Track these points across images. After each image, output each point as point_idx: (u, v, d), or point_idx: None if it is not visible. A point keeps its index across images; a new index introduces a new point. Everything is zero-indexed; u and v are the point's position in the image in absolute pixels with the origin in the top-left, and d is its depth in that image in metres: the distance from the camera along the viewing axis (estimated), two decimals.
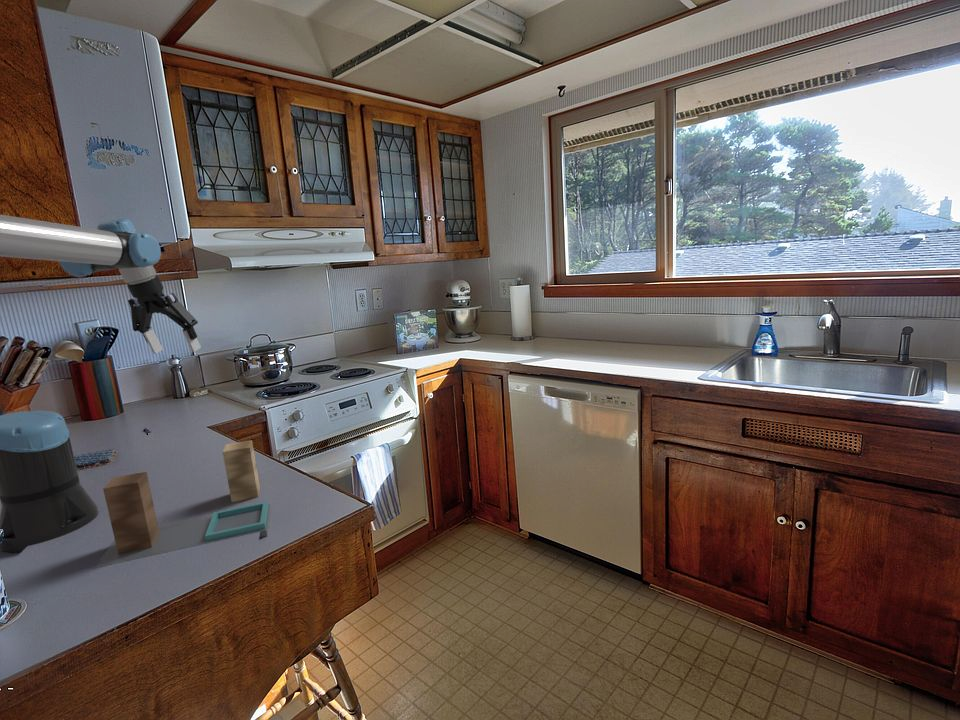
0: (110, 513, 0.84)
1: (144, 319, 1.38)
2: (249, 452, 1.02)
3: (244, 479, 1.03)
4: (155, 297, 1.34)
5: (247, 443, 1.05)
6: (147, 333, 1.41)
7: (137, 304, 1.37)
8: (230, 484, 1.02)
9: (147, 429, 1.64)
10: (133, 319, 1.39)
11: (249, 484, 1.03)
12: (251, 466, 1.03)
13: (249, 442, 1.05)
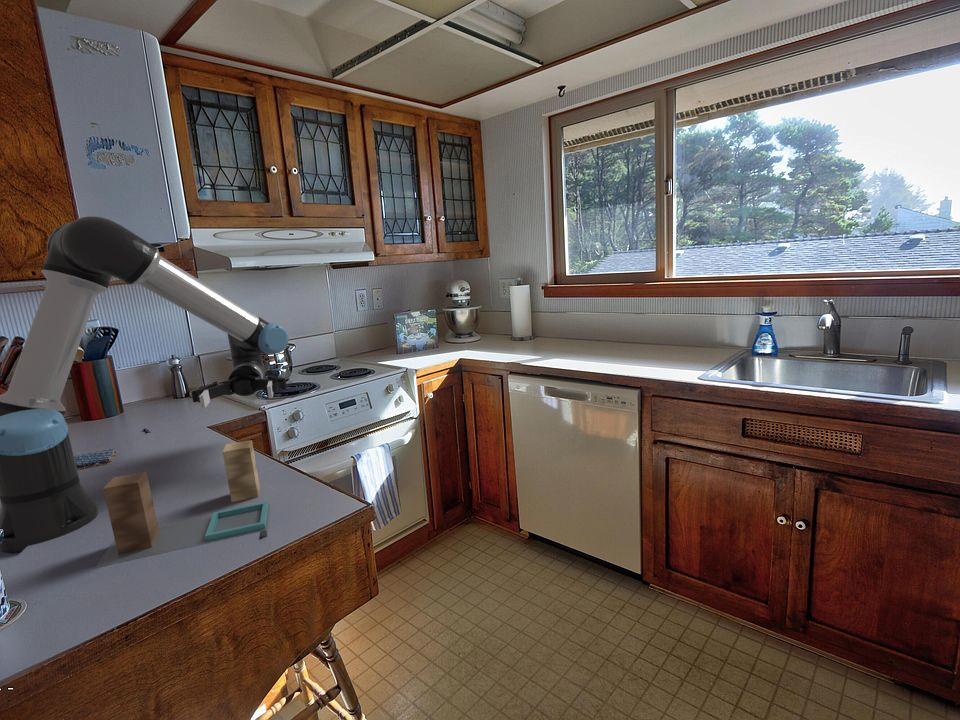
0: (110, 513, 0.84)
1: (220, 385, 1.20)
2: (249, 452, 1.02)
3: (244, 479, 1.03)
4: None
5: (247, 443, 1.05)
6: (208, 392, 1.15)
7: None
8: (230, 484, 1.02)
9: (147, 429, 1.64)
10: (203, 387, 1.19)
11: (249, 484, 1.03)
12: (251, 466, 1.03)
13: (249, 442, 1.05)
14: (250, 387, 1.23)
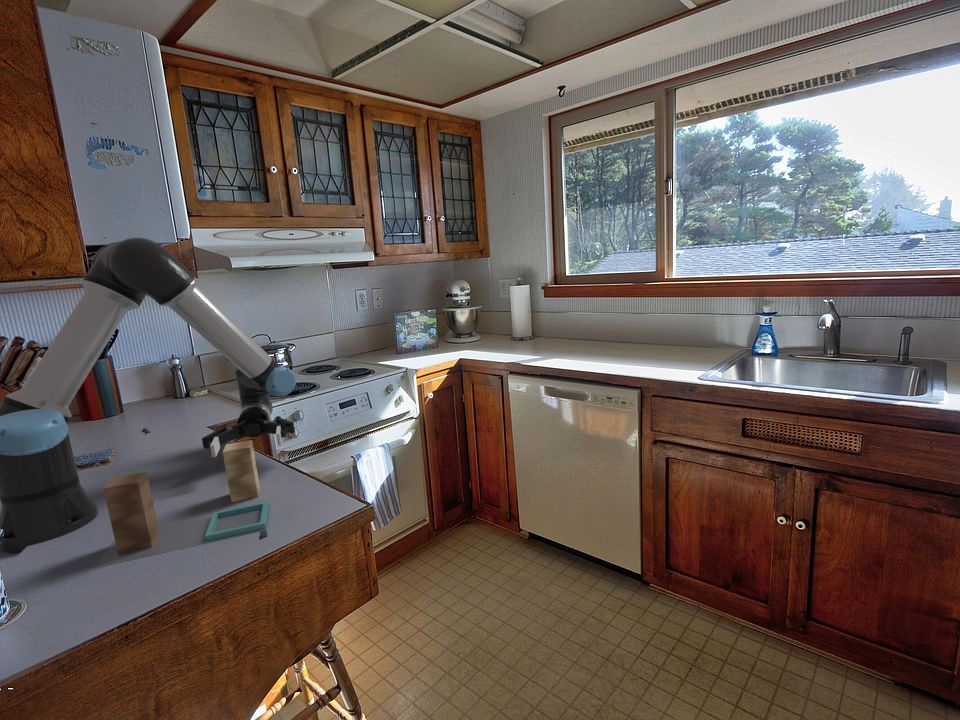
0: (110, 513, 0.84)
1: (229, 430, 1.22)
2: (249, 452, 1.02)
3: (244, 479, 1.03)
4: (263, 419, 1.30)
5: (247, 443, 1.05)
6: (218, 439, 1.17)
7: (229, 429, 1.26)
8: (230, 484, 1.02)
9: (146, 429, 1.64)
10: (213, 433, 1.21)
11: (249, 484, 1.03)
12: (251, 466, 1.03)
13: (249, 442, 1.05)
14: (259, 430, 1.26)
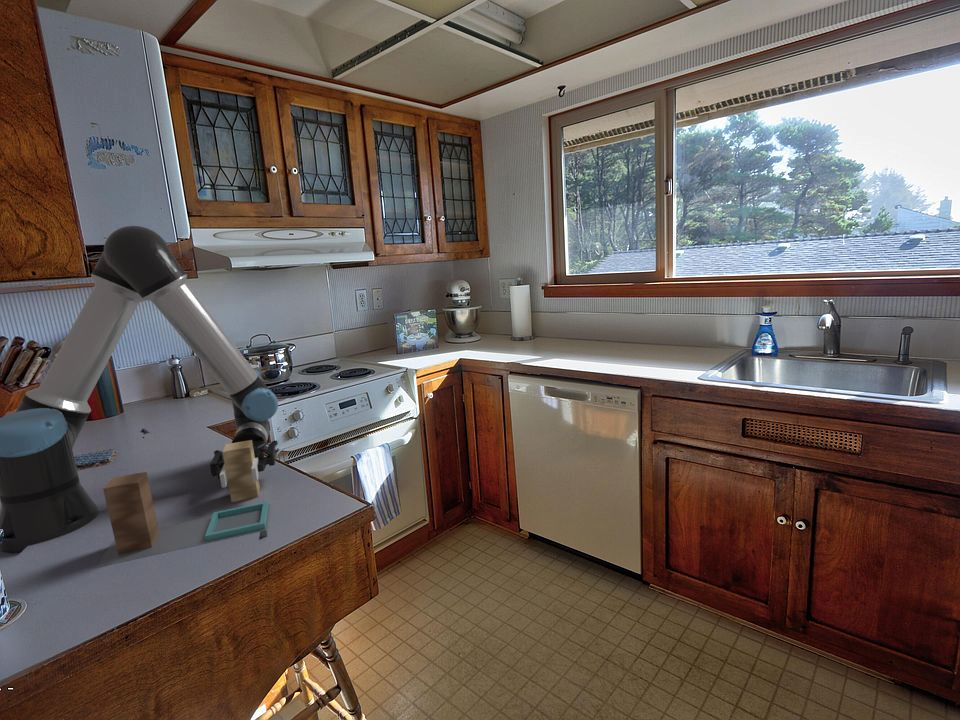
0: (110, 513, 0.84)
1: None
2: (249, 452, 1.02)
3: (244, 479, 1.03)
4: (261, 441, 1.18)
5: (247, 443, 1.05)
6: None
7: None
8: (230, 484, 1.02)
9: (145, 429, 1.63)
10: (215, 458, 1.08)
11: (249, 484, 1.03)
12: (251, 466, 1.03)
13: (249, 442, 1.05)
14: None
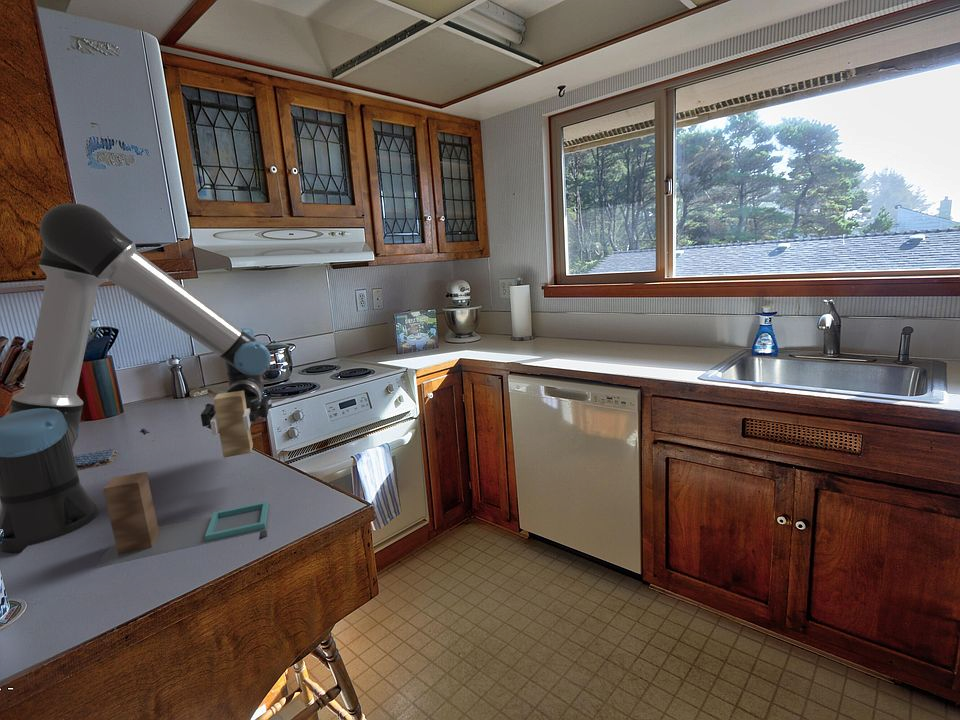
0: (110, 513, 0.84)
1: None
2: (241, 400, 1.00)
3: (235, 428, 1.01)
4: (254, 396, 1.16)
5: (239, 393, 1.03)
6: None
7: None
8: (221, 433, 1.00)
9: None
10: (206, 410, 1.06)
11: (241, 433, 1.01)
12: None
13: (241, 392, 1.03)
14: None
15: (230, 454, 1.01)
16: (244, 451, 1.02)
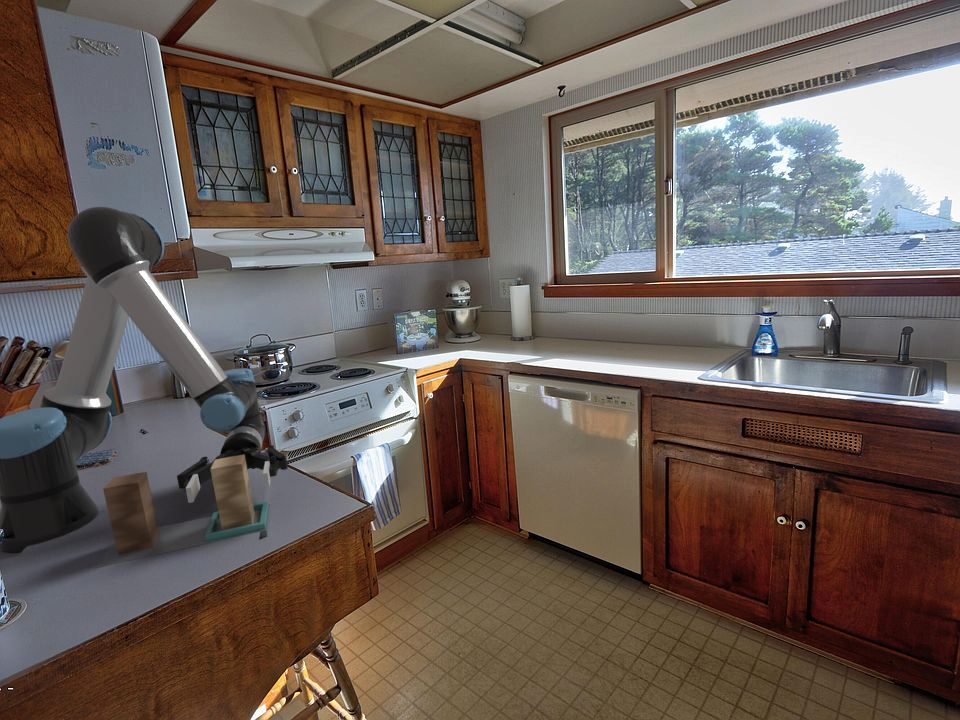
0: (110, 513, 0.84)
1: (211, 464, 0.97)
2: (241, 469, 0.90)
3: (235, 499, 0.91)
4: (253, 448, 1.05)
5: (239, 458, 0.92)
6: (198, 477, 0.92)
7: (210, 461, 1.01)
8: (219, 505, 0.90)
9: (144, 430, 1.63)
10: (190, 468, 0.96)
11: (241, 505, 0.91)
12: (243, 485, 0.91)
13: (241, 457, 0.93)
14: (247, 464, 1.01)
15: (229, 528, 0.91)
16: (245, 524, 0.92)
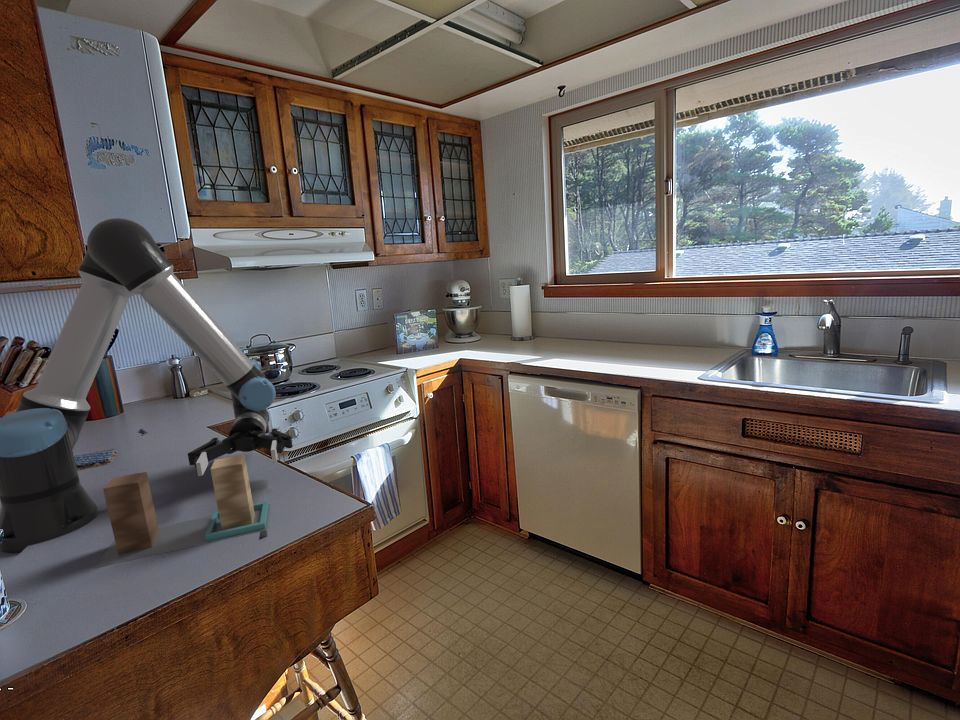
0: (110, 513, 0.84)
1: (219, 444, 1.09)
2: (241, 469, 0.90)
3: (235, 499, 0.91)
4: (258, 431, 1.16)
5: (239, 458, 0.92)
6: (206, 455, 1.04)
7: (220, 442, 1.13)
8: (219, 505, 0.90)
9: (143, 430, 1.63)
10: (200, 447, 1.08)
11: (241, 505, 0.91)
12: (243, 485, 0.91)
13: (241, 457, 0.93)
14: (252, 445, 1.12)
15: (229, 528, 0.91)
16: (245, 524, 0.92)
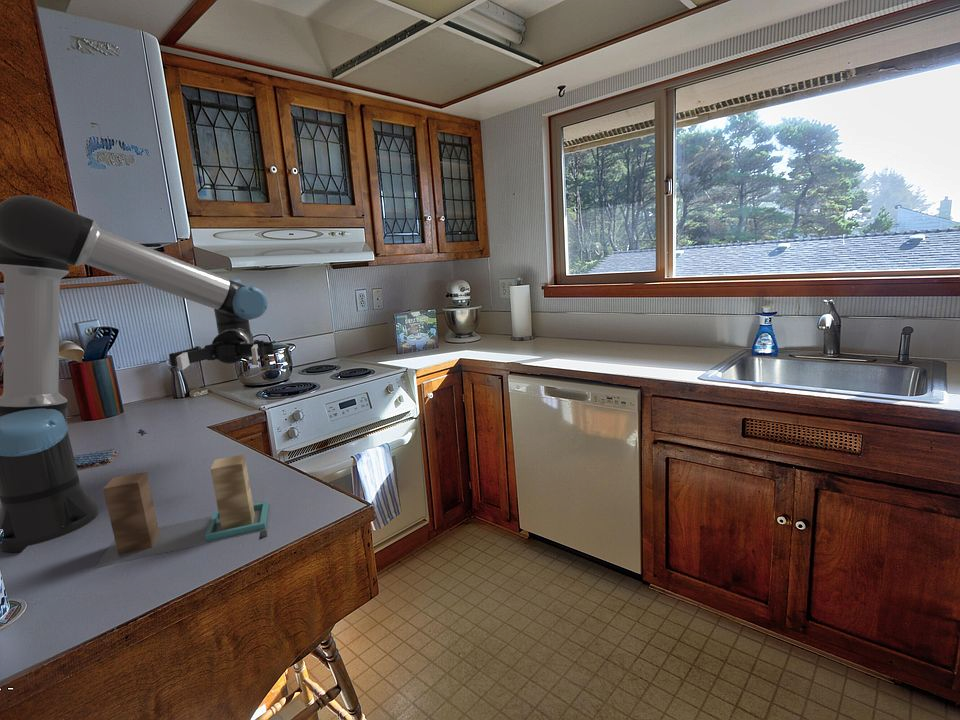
0: (110, 513, 0.84)
1: (201, 349, 1.10)
2: (241, 469, 0.90)
3: (235, 499, 0.91)
4: None
5: (239, 458, 0.92)
6: (187, 355, 1.05)
7: None
8: (219, 505, 0.90)
9: (142, 430, 1.63)
10: (182, 351, 1.09)
11: (241, 505, 0.91)
12: (243, 485, 0.91)
13: (241, 457, 0.93)
14: (234, 352, 1.14)
15: (229, 528, 0.91)
16: (245, 524, 0.92)
